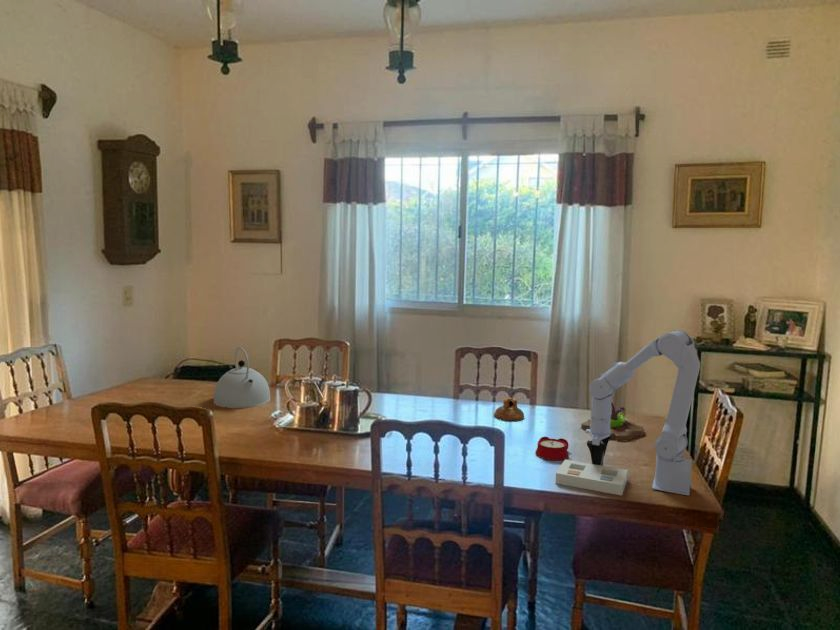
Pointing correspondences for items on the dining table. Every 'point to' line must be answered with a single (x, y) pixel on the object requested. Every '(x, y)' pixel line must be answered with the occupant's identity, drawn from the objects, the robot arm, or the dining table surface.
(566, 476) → the socket block
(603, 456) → the plug
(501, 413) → the brown pouch
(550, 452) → the alarm clock
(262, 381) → the kettle
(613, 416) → the plant
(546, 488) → the dining table surface
